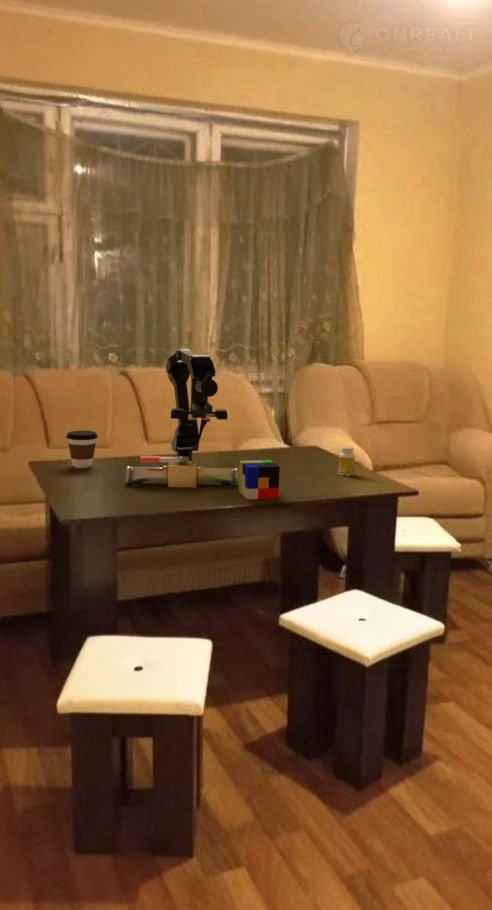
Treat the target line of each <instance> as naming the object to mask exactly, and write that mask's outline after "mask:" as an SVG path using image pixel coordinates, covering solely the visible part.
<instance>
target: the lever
mask: <svg viewBox="0 0 492 910" xmlns="http://www.w3.org/2000/svg"><path fill="white" fill-rule="evenodd" d="M169 462H178V463H187V462H188V457H186V456H179V457H177V456H160V455H141V456H140V463H141V464H142V463H143V464H145V463H146V464H159V463H169Z"/></svg>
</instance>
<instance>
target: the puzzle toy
mask: <svg viewBox="0 0 492 910" xmlns="http://www.w3.org/2000/svg"><path fill="white" fill-rule="evenodd" d="M280 469H281V466H280V465H278V464H276V462H274V461H272V460H271V459H257V460H255V459H254V460H239V467H238V492H239V493H240V494H241V495H242V496H243V497H244V498H245V499H247V500H263V499H265V500H266V499H267V500H268V499H279V497H280V496H279V495H280V494H279V493H280V474H281V473H280V471H281V470H280Z"/></svg>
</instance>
